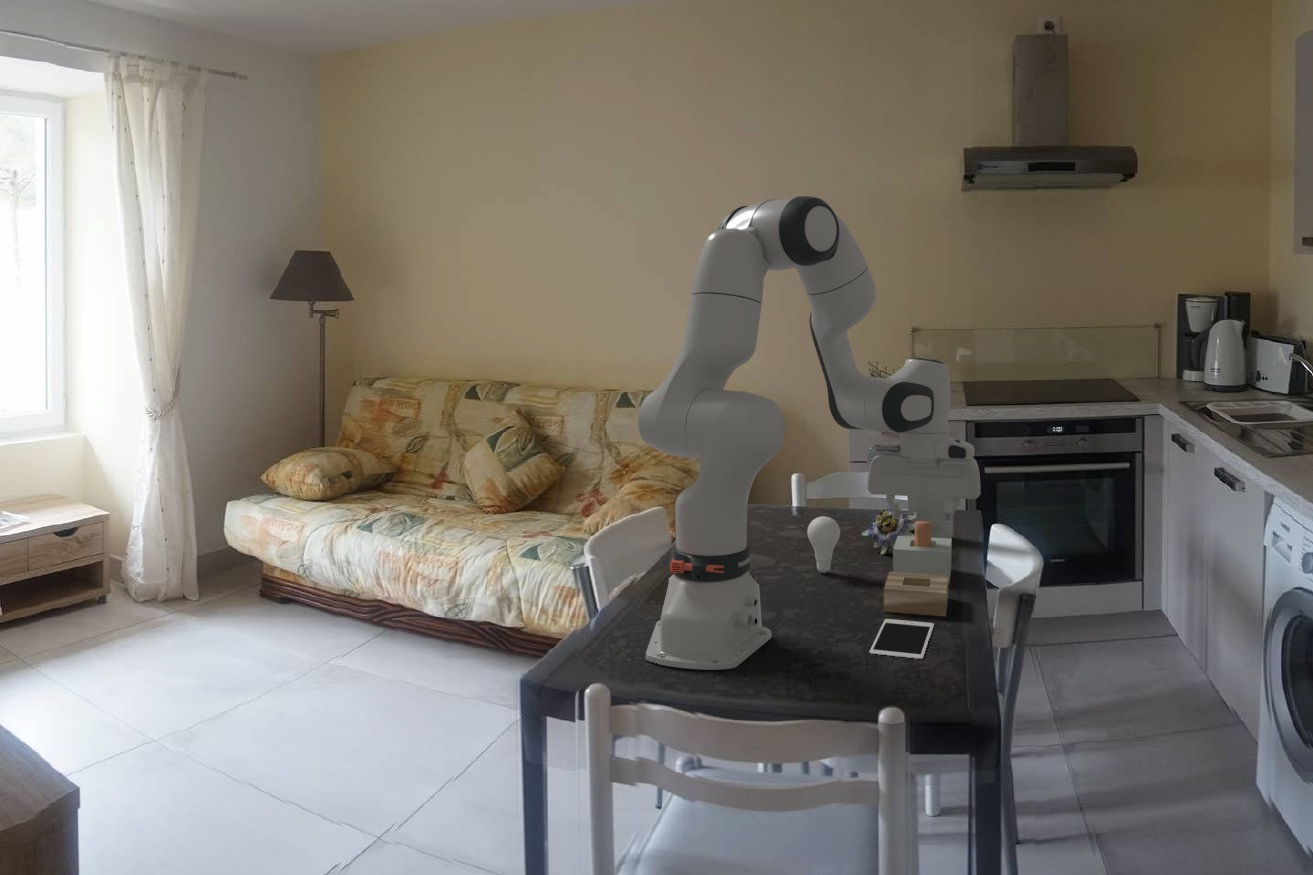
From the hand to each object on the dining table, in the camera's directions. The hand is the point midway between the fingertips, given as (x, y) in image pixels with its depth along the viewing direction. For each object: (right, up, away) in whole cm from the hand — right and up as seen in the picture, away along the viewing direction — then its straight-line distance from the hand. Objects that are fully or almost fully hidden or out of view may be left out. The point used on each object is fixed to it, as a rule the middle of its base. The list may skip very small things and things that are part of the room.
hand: (922, 519), depth 184 cm
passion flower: (0, -8, +19) cm, 21 cm away
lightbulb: (-18, -11, +5) cm, 21 cm away
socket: (0, -11, +2) cm, 11 cm away
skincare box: (+9, -7, +27) cm, 29 cm away
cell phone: (-11, -16, -31) cm, 36 cm away
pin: (0, -11, +2) cm, 11 cm away
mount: (-5, -13, -15) cm, 21 cm away
